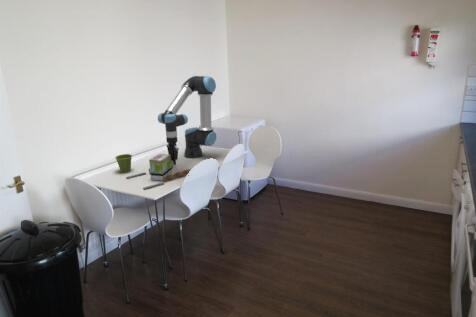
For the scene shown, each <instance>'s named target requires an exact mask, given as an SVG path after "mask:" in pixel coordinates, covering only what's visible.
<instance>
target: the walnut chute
mask: <svg viewBox="0 0 476 317" xmlns="http://www.w3.org/2000/svg"><path fill="white" fill-rule="evenodd" d="M189 171H191V169H190V168H187V169H183V170H179V171H176V172H172V174H168V175H165V176H163V181H162V182H163V183H167V182H172V181H174V180H178V179H181V178H185V177H187V176H186V175H187V174H188V173H189ZM148 174H149V175H150V168H148ZM177 178H178V179H177Z"/></svg>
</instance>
